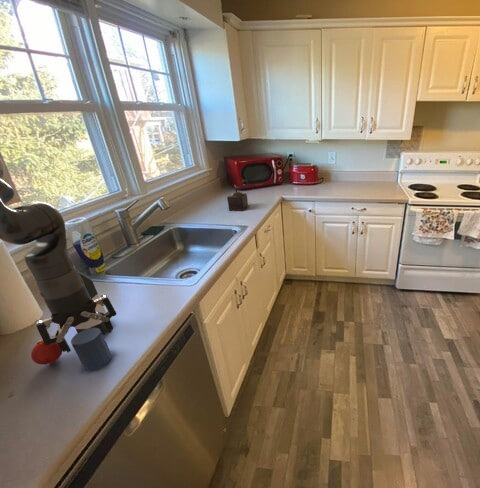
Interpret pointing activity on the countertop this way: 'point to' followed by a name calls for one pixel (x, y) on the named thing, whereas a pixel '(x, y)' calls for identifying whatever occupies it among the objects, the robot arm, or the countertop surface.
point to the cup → (91, 348)
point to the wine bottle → (94, 295)
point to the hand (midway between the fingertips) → (89, 340)
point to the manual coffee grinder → (238, 199)
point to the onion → (46, 353)
